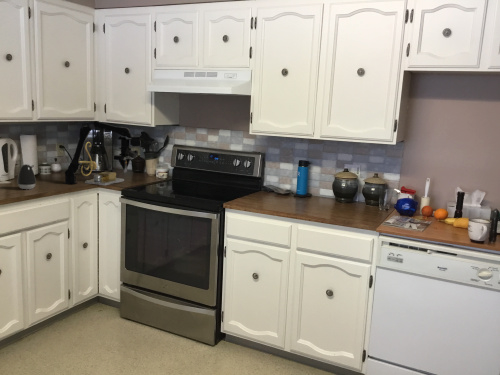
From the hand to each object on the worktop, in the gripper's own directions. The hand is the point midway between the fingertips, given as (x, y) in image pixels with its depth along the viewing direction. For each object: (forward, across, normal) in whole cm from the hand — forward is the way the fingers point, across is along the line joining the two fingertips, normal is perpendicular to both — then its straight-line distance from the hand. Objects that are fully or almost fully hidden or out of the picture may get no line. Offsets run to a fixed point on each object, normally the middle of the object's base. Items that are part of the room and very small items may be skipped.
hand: (125, 169), depth 311 cm
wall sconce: (+10, +14, +42) cm, 46 cm away
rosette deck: (+10, 0, +16) cm, 19 cm away
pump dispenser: (+10, -47, +38) cm, 62 cm away
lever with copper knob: (+3, 0, 0) cm, 3 cm away
